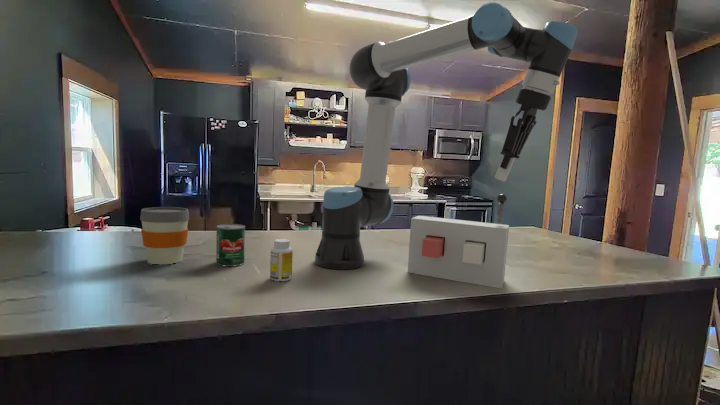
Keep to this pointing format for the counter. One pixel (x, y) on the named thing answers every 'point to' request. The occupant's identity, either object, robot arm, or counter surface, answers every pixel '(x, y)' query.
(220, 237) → the canned tomato
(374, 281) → the counter surface
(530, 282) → the counter surface
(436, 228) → the console
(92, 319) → the counter surface
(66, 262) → the counter surface
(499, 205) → the toggle lever
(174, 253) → the reusable coffee cup
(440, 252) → the red button
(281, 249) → the supplement bottle
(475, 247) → the ivory button
